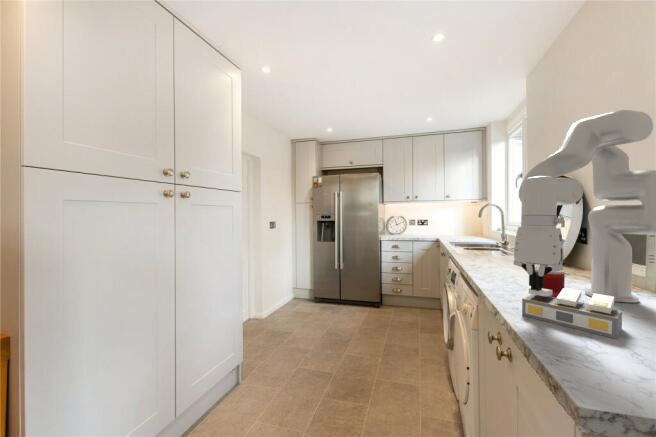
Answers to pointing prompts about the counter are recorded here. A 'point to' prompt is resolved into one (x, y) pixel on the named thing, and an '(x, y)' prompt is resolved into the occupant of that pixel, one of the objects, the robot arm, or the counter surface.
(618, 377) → the counter surface
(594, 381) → the counter surface
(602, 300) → the rocker
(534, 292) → the rocker
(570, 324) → the switch unit
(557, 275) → the canned food
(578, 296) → the rocker
